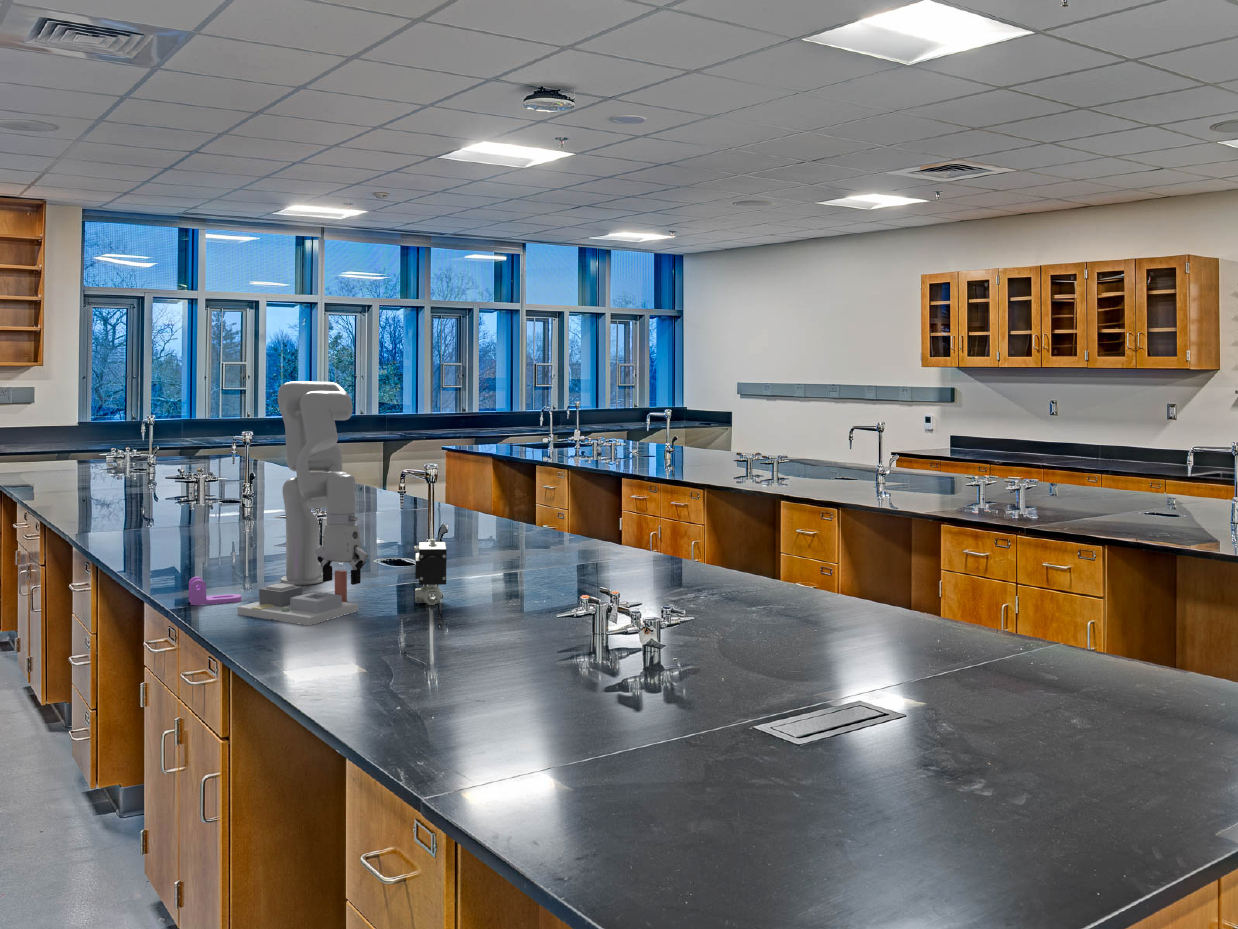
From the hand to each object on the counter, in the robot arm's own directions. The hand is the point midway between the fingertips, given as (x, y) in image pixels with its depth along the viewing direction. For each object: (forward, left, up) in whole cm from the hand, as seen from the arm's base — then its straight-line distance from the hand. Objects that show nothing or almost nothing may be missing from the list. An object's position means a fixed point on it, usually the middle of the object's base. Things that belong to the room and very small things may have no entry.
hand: (341, 582), depth 275 cm
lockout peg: (0, -1, -6) cm, 6 cm away
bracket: (+15, -31, -6) cm, 35 cm away
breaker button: (+14, -9, -3) cm, 16 cm away
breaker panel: (+14, -3, -6) cm, 15 cm away
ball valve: (-13, +19, -6) cm, 24 cm away
